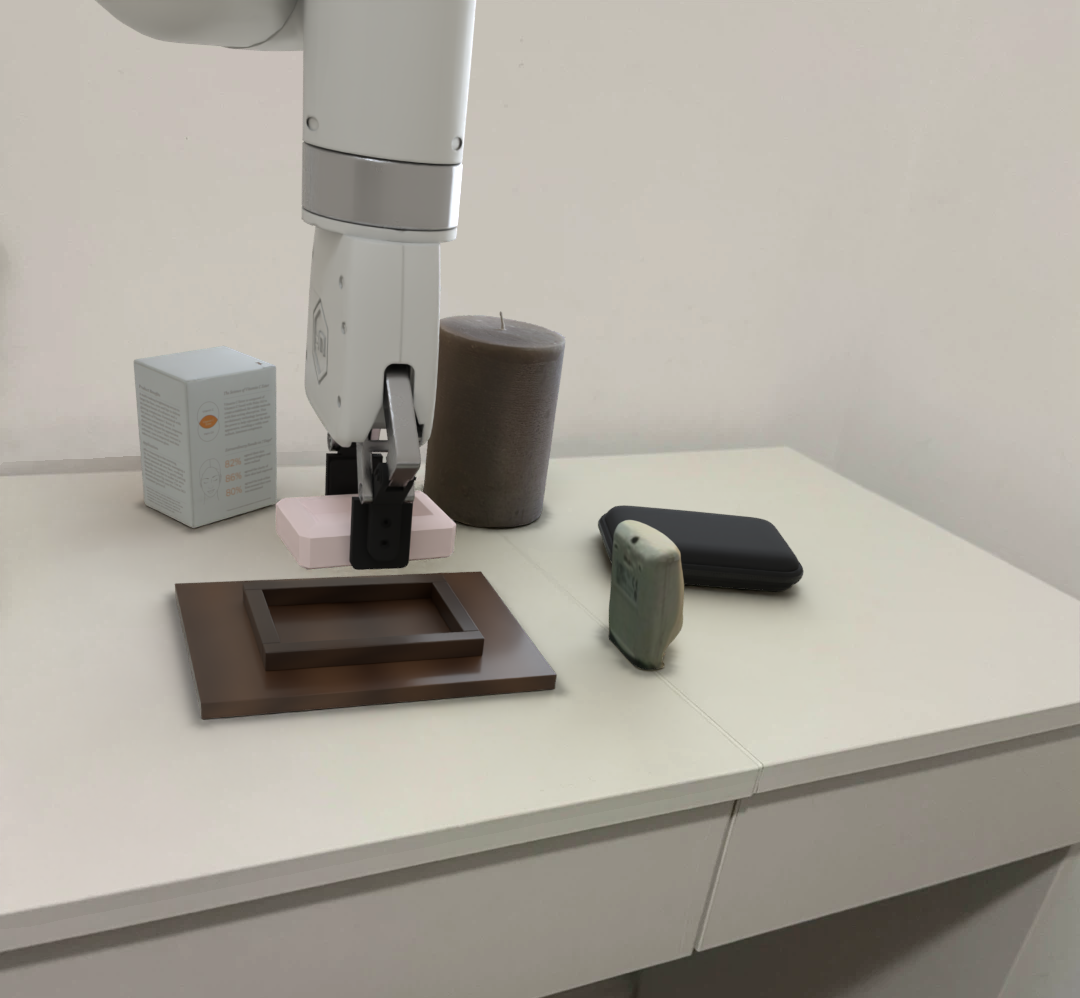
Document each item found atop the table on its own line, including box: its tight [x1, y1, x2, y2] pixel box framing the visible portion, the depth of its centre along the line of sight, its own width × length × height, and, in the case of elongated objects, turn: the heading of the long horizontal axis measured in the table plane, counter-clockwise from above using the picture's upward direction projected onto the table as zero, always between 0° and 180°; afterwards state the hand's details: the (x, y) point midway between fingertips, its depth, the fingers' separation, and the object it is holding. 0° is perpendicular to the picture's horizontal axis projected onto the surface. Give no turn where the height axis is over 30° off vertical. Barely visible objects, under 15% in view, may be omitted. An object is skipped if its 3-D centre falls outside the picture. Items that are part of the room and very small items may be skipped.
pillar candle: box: [422, 310, 566, 528], centre depth 82 cm, size 10×10×15 cm
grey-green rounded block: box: [608, 520, 685, 671], centre depth 66 cm, size 6×5×8 cm
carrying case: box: [597, 505, 804, 592], centre depth 81 cm, size 11×3×15 cm
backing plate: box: [174, 571, 558, 720], centre depth 63 cm, size 20×14×2 cm
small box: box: [133, 345, 278, 529], centre depth 75 cm, size 8×6×10 cm
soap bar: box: [275, 489, 457, 571], centre depth 60 cm, size 5×9×2 cm, turn 118°
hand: (365, 539), depth 60 cm, fingers closed on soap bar, 5 cm apart
